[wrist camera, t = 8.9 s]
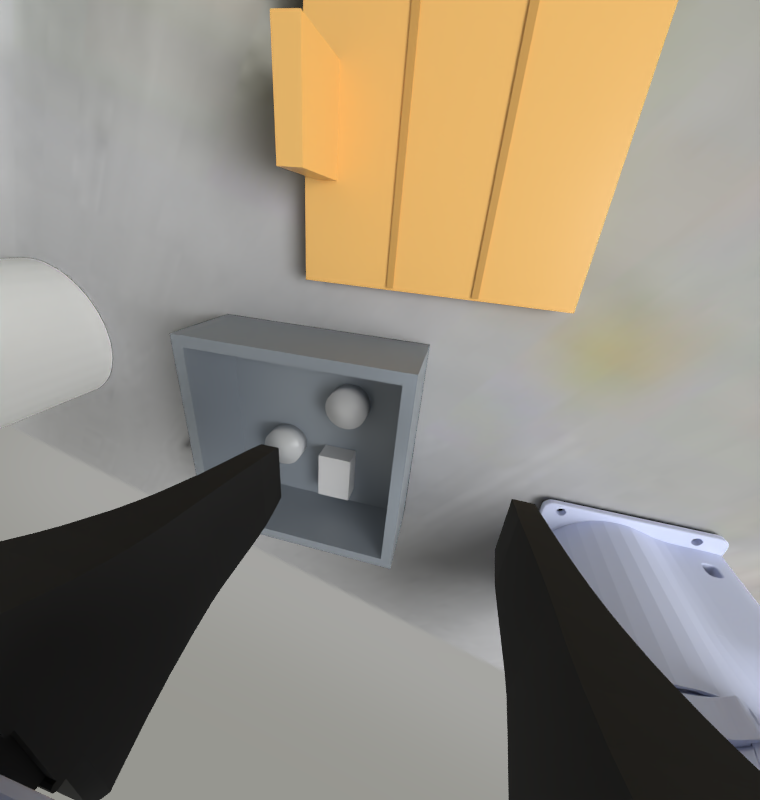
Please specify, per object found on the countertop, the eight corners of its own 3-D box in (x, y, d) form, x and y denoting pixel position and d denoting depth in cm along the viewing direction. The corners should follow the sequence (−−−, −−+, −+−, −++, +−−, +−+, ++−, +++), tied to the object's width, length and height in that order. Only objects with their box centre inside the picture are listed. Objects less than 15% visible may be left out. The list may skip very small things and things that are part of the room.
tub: (429, 344, 18) (418, 375, 14) (403, 513, 24) (390, 568, 20) (227, 314, 21) (169, 333, 17) (245, 475, 26) (204, 519, 22)
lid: (695, -98, 11) (845, -322, 7) (565, 306, 17) (599, 333, 12) (318, -75, 13) (241, -231, 9) (317, 276, 19) (270, 289, 14)
